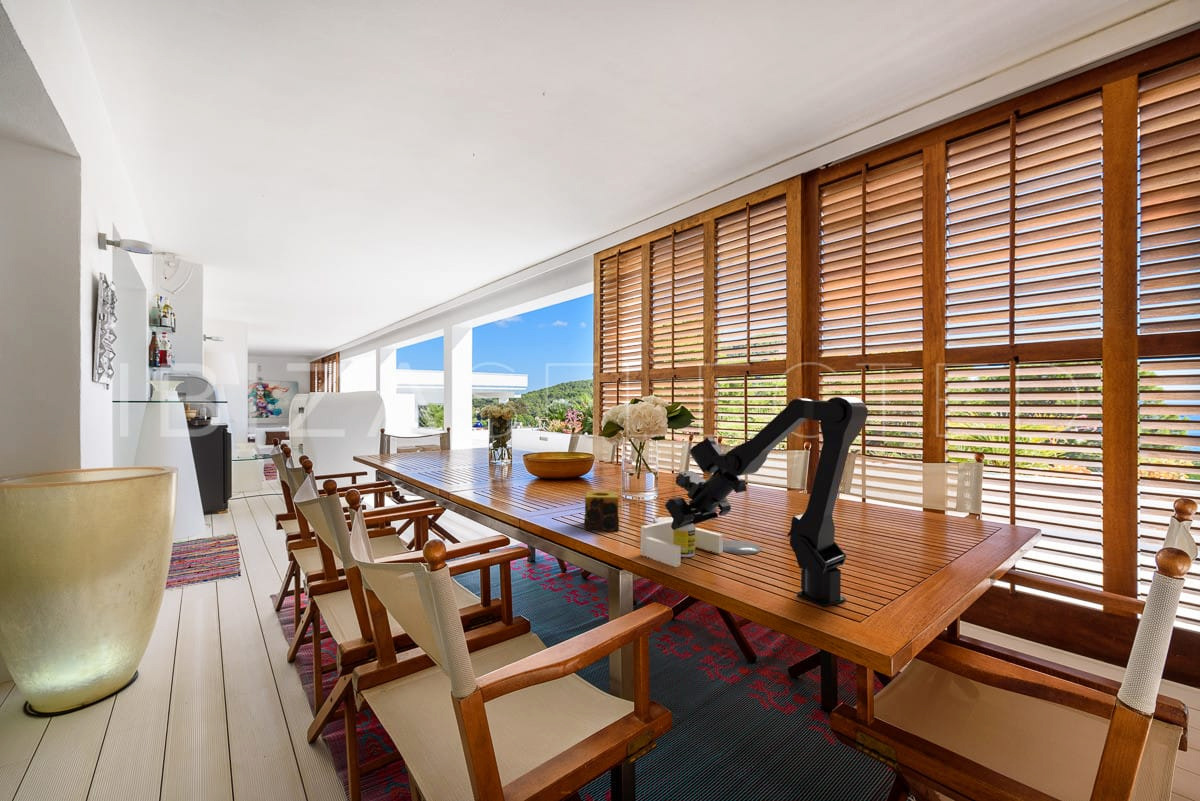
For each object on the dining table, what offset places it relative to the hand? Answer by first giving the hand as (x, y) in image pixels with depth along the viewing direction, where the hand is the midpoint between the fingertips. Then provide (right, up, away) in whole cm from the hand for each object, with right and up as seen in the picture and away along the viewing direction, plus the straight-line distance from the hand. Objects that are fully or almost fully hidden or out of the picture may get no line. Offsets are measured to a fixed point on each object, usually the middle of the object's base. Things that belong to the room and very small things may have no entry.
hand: (680, 526), depth 125 cm
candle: (-19, -7, +24) cm, 32 cm away
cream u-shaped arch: (+1, -7, -1) cm, 7 cm away
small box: (-1, -7, +13) cm, 15 cm away
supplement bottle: (+1, -7, -1) cm, 7 cm away
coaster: (+16, -7, +5) cm, 18 cm away
